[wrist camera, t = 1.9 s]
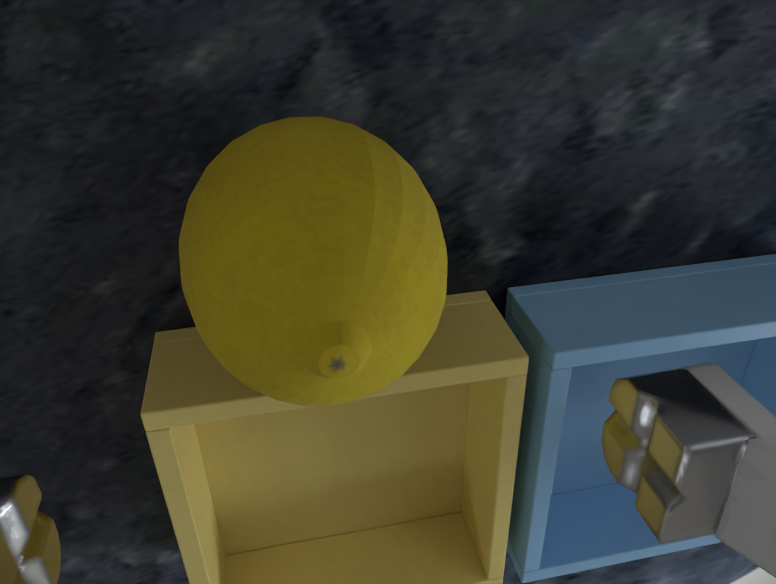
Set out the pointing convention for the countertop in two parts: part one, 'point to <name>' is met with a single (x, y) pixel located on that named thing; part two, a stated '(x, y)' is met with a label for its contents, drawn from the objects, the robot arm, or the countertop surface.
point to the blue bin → (592, 388)
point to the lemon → (313, 261)
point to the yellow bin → (344, 464)
